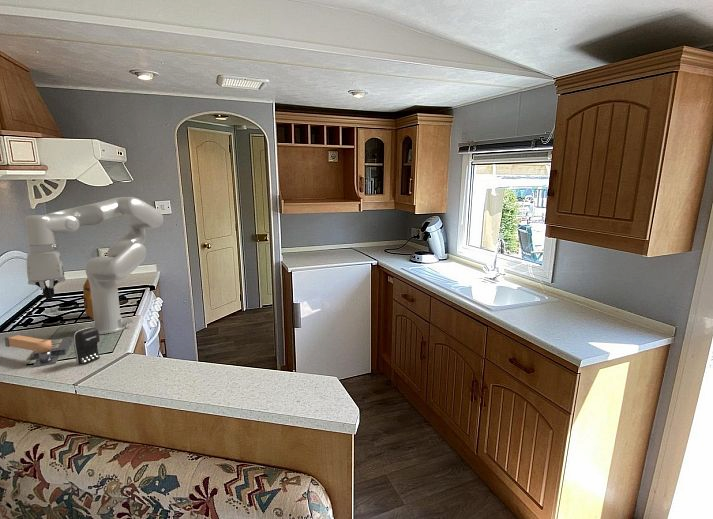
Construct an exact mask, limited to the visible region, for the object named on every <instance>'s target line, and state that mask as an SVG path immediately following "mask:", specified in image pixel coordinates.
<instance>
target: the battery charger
mask: <svg viewBox="0 0 713 519" xmlns="http://www.w3.org/2000/svg"><path fill="white" fill-rule="evenodd" d="M72 337H73V338H72V342H73V347H74V353H75V362H76V364H77V365H83V366H84V365H87V364H90V363H92V362H95V361H97V360H99V359H100V358H101V357H100V353H99V348H98V347H99V346H98V343H99V342H101V340H100V339H101V338H100V334H99V332H98V330H97V329H96V328H94V327H85V328H82V329H79V330H77V331H74V333H73V336H72Z"/></svg>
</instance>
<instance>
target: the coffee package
mask: <svg viewBox="0 0 713 519" xmlns="http://www.w3.org/2000/svg"><path fill="white" fill-rule="evenodd" d="M82 286H83V287H82V289H83V290H82V292H83V294H82V296H83V306H84V309H85V315H87V316H88V317H89V318H91V319H92V320H94V315H93V306H92V297H91V289H90V284H89V280H88V278H86V280H85V282H84V284H83V285H82Z"/></svg>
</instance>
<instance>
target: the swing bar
mask: <svg viewBox="0 0 713 519" xmlns="http://www.w3.org/2000/svg"><path fill="white" fill-rule="evenodd" d="M51 340H52V339H42V338H37V337H31V336H26V335H20V334H18V333H14V334H11V335H7V336H4V343H5V347H7V348H10V347H13V348H17V349H18V348H19V349H22V350H23V349H24V350H28V351H33V352H35V351H37V352H38V353H41V352H47V351H50V350H52V344H51Z"/></svg>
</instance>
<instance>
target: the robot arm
mask: <svg viewBox="0 0 713 519" xmlns="http://www.w3.org/2000/svg"><path fill="white" fill-rule="evenodd" d="M126 217H127V231H126V233H125V234H124V235H123V236H121V237H120V238H119V239H118V240H116V241H115V242H114V243H113V244H111V246H110V247H109V248H108V250H107V256H95V257H92V258H91V259H89V260H88V261H87V262H86V265H85V275H86V277H87V278H86V279H88V280H89V284H90V289H91V297H92V306H93V315H94V319H93V321H94V322H93V323H94V327H93V328H96V329H97V330H98V332H99V335H105V334H106V335H107V334H108V333H109V334H114V333H117V332H121V331H123V330H125V329H126V324H133V323H134V319H133V318H123V316H122V315H121V309H120V307H121V306H120V299H119V291H118V290H119V288H118V284H117V282H116V281H121V280H123V279H126V278H127V277H128V276H130V274H132V272H134V271H135V270H136V269H137V268H138V267H139V266H140V265H141V264H142V263H143V262H144V261H145V259H146V256H147V248H146V246H145V245H144V244H145V243H146V242H147V241H146V239H147V237H146V236H147V235H146V229H157V228H160V227H161V226H162V225H163V224H164V216H163V213H161V212H160V210H159V209H157V208H155V207H153V206H152V205H151V204H149V203H147V202H145V201H144V200H142V199H141V198H137V197H135V196H122V197H121V196H119V197H113V198H110V199H106V200H103V201H98V202H94V203H91V204H84V205H81V206H77V207H76V206H75V207H70V208H66V209H63V210H62V209H61V210H57V211H53V212H50V213H46V214H37V215H36V214H35V215H33V214H32V215H27V216H25V218H24V224H25V230H26V231H25V232H26V238H27V245H28V252H29V253H28V254H27V255H26V273H27V279H28V280H27V284H28V285H32V286H37V287H39V288H40V289H41V290H42V295H43V298H45V300H52V299H53V298H54V296H55V289H54V287H55V286H56V285H57V284H59V283H63V282H65V281H66V278H65V269H64V264H63V260H62V256H61V254H60V251H57V250H60V249H61V247H62V246H61V245H60V244H59V245H58V244H56V241H55V234H57V235H58V234H59V235H60V234H61V235H67V234H68V235H69V234H73V233H75V232H76V231H78V229H79V228H80V227H83V226H95V225H101V224H104V223H108V222H111V221H114V220H117V219H121V218H126ZM46 281H48V282H49V283H48V285H47V284H46V283H47V282H46Z"/></svg>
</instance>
